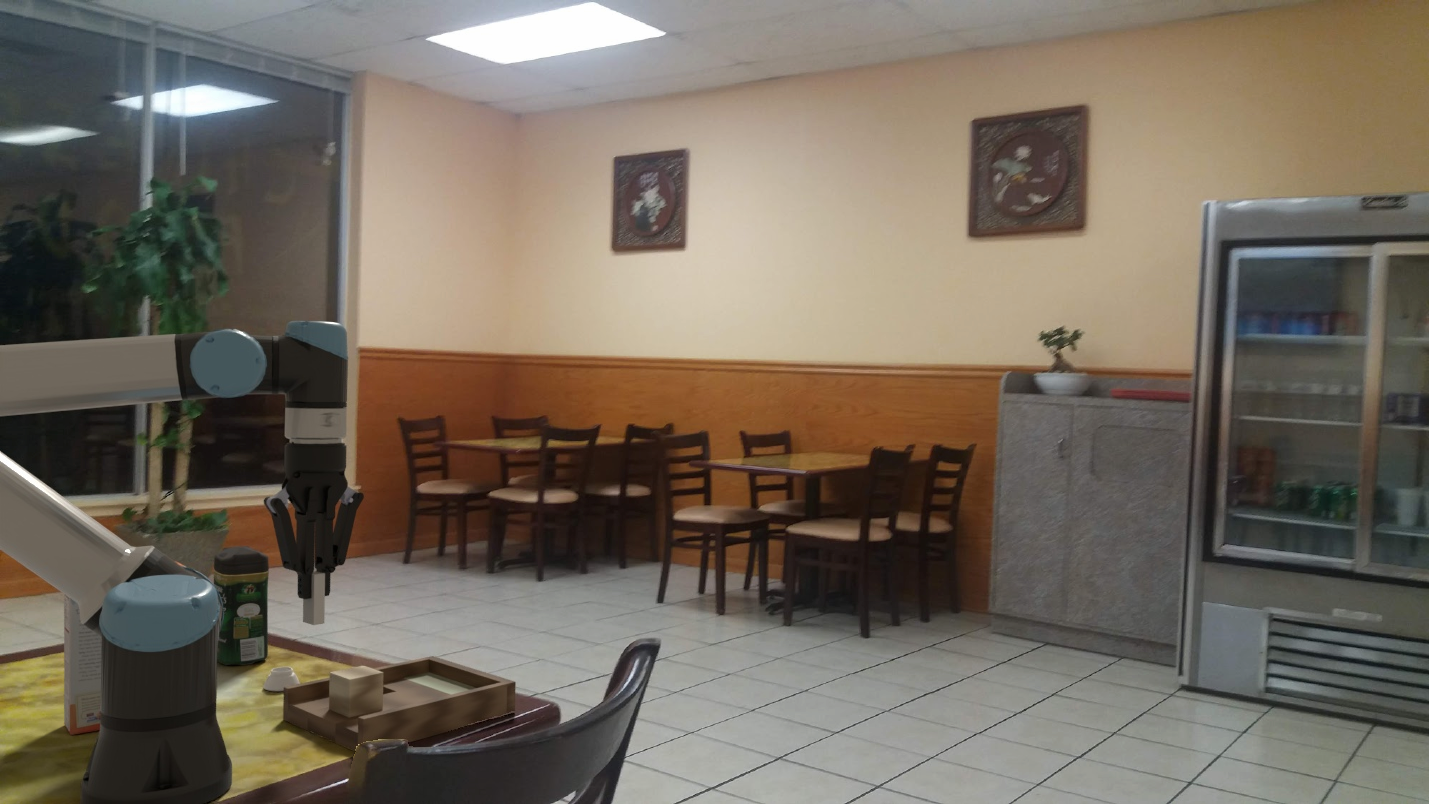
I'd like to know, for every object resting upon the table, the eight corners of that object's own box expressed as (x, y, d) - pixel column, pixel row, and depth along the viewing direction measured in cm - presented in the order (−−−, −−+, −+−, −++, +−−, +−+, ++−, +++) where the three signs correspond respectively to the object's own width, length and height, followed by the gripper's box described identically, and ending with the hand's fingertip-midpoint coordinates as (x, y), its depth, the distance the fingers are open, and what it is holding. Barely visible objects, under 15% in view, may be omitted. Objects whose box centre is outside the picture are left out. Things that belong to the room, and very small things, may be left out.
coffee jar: (207, 656, 179) (208, 545, 179) (257, 650, 184) (259, 542, 184) (221, 669, 172) (222, 553, 171) (273, 662, 176) (274, 549, 176)
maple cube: (349, 717, 141) (349, 679, 141) (329, 709, 144) (329, 672, 144) (382, 709, 145) (383, 672, 145) (362, 701, 148) (363, 665, 148)
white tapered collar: (289, 694, 160) (305, 685, 165) (289, 674, 160) (305, 666, 165) (257, 692, 160) (274, 683, 165) (257, 672, 160) (274, 664, 165)
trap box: (362, 755, 134) (363, 719, 134) (283, 719, 147) (283, 687, 147) (514, 713, 153) (515, 681, 153) (432, 685, 166) (432, 656, 166)
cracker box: (176, 706, 152) (178, 559, 152) (186, 717, 147) (189, 565, 147) (61, 724, 143) (63, 568, 143) (68, 736, 139) (70, 575, 138)
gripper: (282, 444, 132) (279, 635, 132) (376, 441, 142) (374, 619, 142) (252, 440, 137) (250, 625, 137) (346, 438, 147) (344, 610, 147)
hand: (313, 622), depth 140 cm, fingers closed
